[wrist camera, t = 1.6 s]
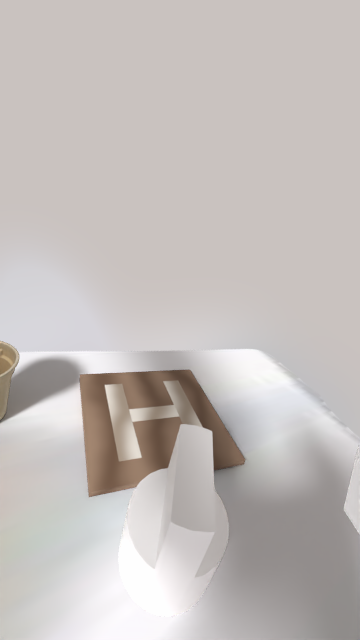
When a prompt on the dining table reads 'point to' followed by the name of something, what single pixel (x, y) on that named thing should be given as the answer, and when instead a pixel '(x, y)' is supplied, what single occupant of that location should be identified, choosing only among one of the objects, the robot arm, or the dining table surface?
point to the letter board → (143, 425)
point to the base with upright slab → (175, 529)
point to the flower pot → (6, 372)
